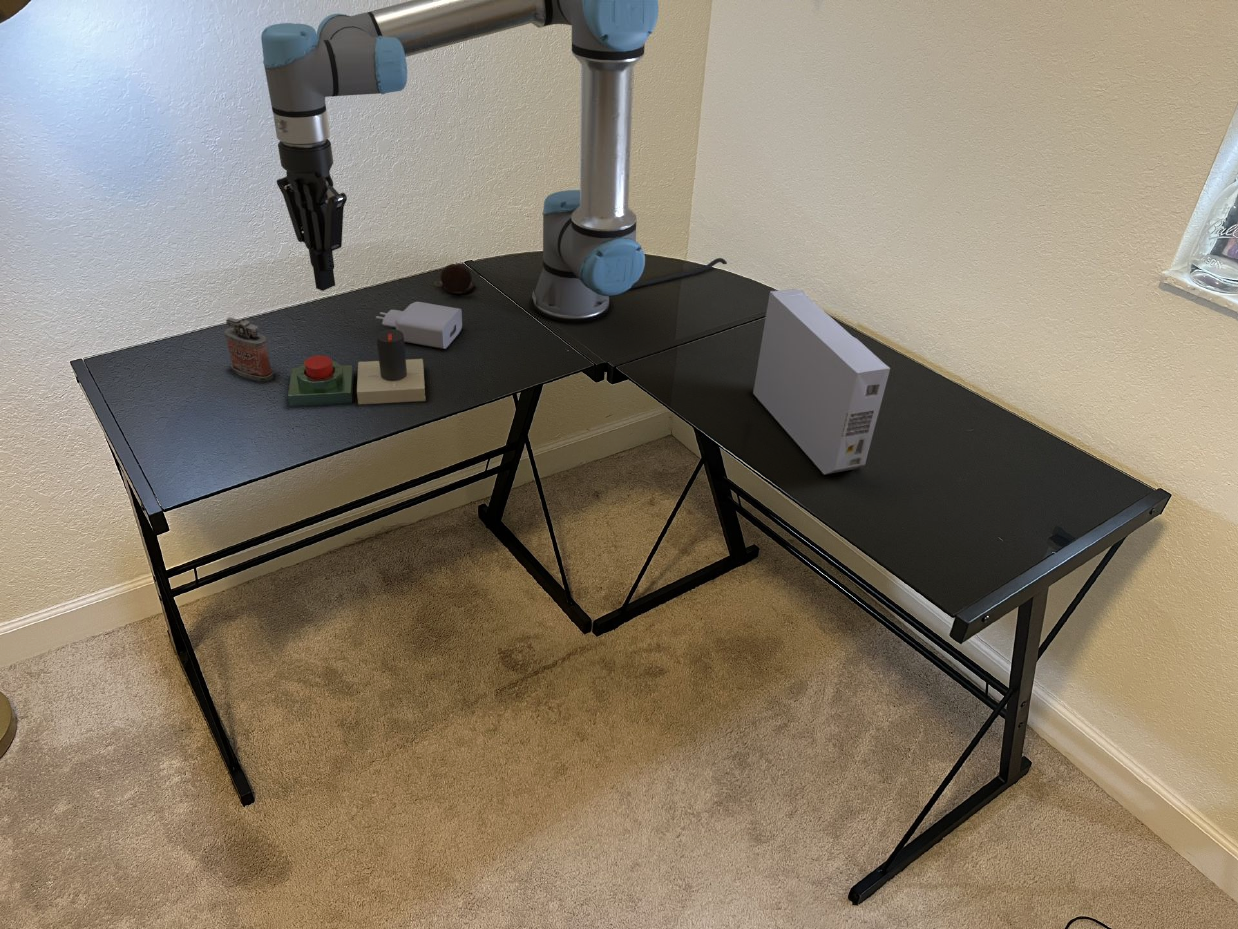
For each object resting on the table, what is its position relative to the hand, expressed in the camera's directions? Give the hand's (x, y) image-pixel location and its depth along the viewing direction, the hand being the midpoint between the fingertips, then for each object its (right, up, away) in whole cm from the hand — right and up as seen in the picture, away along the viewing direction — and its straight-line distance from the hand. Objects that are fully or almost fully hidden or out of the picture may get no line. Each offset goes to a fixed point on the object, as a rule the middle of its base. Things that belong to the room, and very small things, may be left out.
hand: (325, 286), depth 153 cm
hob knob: (+9, -13, +8) cm, 18 cm away
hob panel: (+8, -16, +9) cm, 20 cm away
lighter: (-16, -13, +11) cm, 23 cm away
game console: (+79, -24, +5) cm, 82 cm away
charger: (+9, -4, +25) cm, 27 cm away
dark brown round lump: (+14, +7, +41) cm, 44 cm away
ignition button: (-3, -13, +5) cm, 15 cm away
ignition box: (-3, -16, +7) cm, 18 cm away
